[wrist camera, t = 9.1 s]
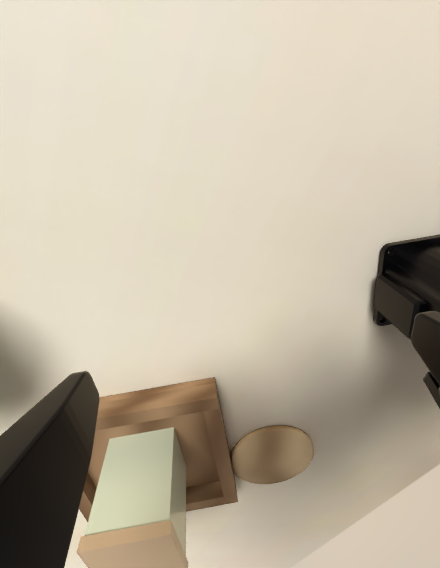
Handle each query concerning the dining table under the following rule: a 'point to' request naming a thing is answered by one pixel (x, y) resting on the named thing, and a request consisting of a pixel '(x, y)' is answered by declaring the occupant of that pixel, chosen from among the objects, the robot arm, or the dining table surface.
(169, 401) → the walnut tray
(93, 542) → the sage canister
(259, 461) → the cork coaster
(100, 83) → the dining table surface
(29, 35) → the dining table surface
